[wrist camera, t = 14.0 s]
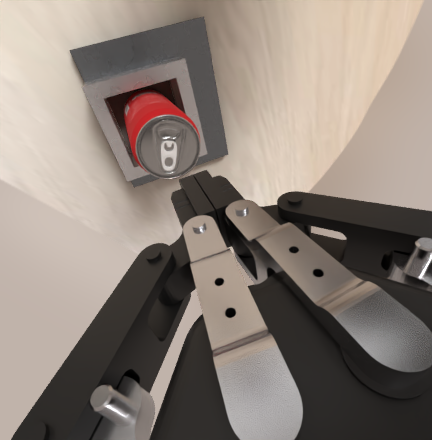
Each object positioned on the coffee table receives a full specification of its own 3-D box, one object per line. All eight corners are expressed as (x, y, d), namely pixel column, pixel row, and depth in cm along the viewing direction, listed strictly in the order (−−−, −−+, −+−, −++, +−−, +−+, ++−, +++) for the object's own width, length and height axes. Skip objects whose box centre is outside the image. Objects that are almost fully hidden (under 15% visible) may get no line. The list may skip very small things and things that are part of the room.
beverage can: (172, 89, 27) (207, 113, 17) (171, 138, 30) (200, 181, 20) (120, 85, 25) (129, 108, 16) (124, 137, 28) (134, 183, 18)
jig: (200, 17, 24) (216, 12, 21) (225, 151, 33) (239, 164, 29) (70, 50, 22) (64, 51, 19) (133, 183, 31) (136, 201, 27)
